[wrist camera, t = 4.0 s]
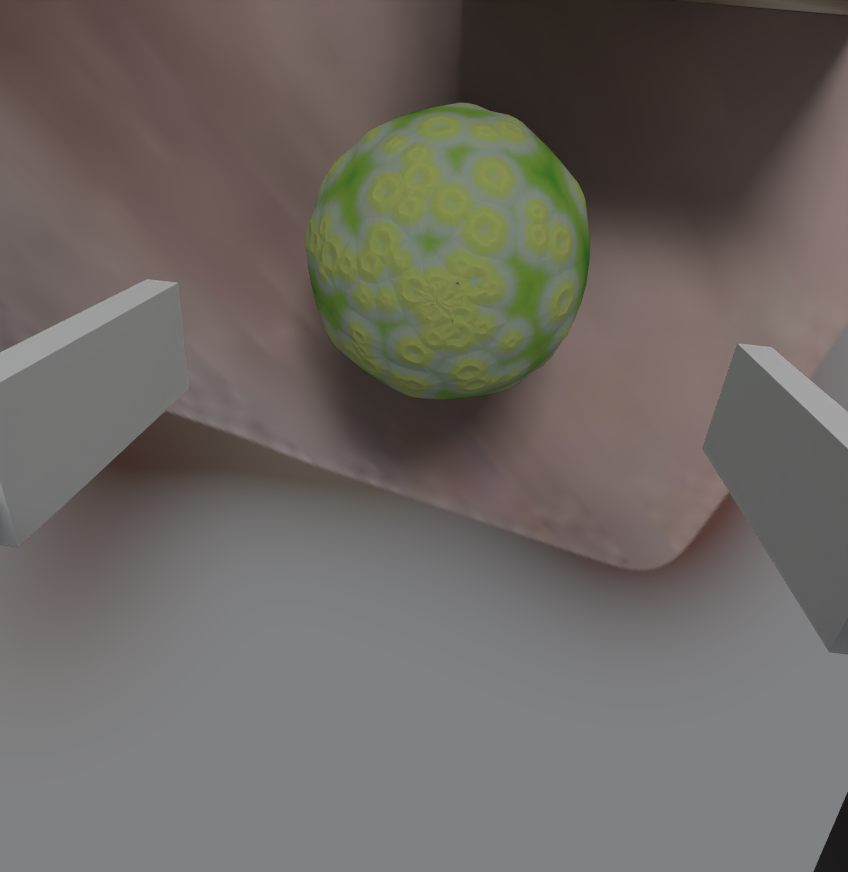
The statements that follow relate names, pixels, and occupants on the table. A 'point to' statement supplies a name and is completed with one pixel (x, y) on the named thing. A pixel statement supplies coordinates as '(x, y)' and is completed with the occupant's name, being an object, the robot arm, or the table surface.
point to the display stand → (789, 5)
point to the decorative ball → (449, 252)
